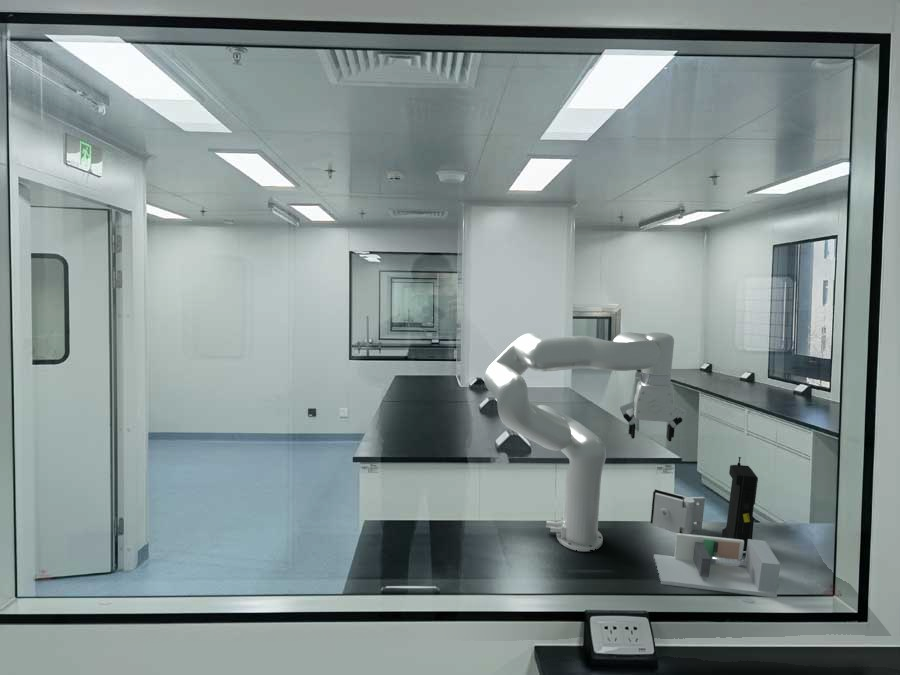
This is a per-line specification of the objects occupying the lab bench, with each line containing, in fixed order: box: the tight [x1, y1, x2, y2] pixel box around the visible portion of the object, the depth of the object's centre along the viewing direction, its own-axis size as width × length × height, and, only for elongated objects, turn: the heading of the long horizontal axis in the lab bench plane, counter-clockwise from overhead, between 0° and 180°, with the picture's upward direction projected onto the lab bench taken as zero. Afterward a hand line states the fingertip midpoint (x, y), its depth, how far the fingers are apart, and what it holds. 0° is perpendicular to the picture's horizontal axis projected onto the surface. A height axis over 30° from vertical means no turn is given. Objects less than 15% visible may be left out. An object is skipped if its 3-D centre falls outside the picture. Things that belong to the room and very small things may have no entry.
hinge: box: [650, 488, 706, 535], centre depth 159 cm, size 14×5×10 cm, turn 69°
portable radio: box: [721, 456, 759, 551], centre depth 148 cm, size 8×6×25 cm
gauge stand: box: [653, 532, 781, 599], centre depth 137 cm, size 26×11×8 cm, turn 79°
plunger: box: [693, 542, 746, 577], centre depth 137 cm, size 11×7×6 cm, turn 79°
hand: (650, 438), depth 152 cm, fingers open, 9 cm apart
